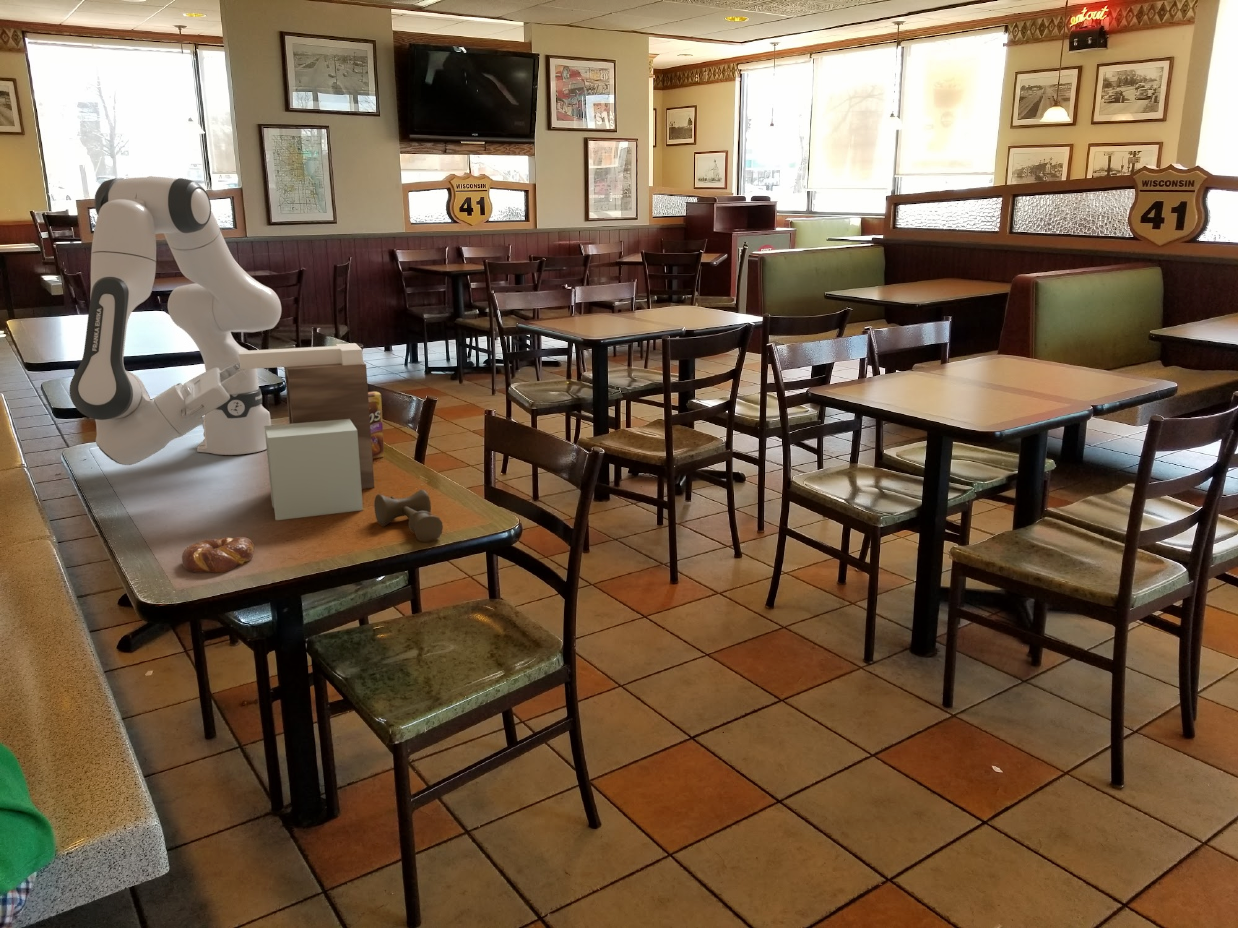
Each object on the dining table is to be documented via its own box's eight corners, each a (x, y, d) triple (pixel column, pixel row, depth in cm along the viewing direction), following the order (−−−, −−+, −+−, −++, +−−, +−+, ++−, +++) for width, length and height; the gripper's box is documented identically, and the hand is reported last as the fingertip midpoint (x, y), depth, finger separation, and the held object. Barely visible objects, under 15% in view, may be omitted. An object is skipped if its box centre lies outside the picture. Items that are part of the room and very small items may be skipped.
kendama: (404, 550, 164) (367, 515, 180) (456, 541, 169) (415, 508, 185) (403, 518, 163) (366, 485, 179) (455, 510, 168) (414, 479, 184)
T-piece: (239, 364, 189) (237, 349, 189) (356, 357, 198) (355, 343, 197) (241, 371, 181) (239, 356, 181) (363, 364, 190) (362, 349, 189)
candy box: (347, 463, 215) (342, 397, 211) (341, 458, 218) (336, 394, 214) (385, 457, 220) (381, 393, 215) (379, 453, 223) (374, 390, 219)
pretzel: (236, 545, 165) (234, 525, 164) (270, 560, 159) (268, 539, 158) (168, 564, 156) (166, 543, 156) (201, 581, 150) (199, 559, 149)
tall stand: (294, 482, 200) (283, 361, 193) (366, 474, 206) (358, 356, 199) (299, 495, 191) (287, 369, 184) (374, 487, 197) (366, 364, 190)
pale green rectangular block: (272, 504, 186) (264, 425, 181) (355, 495, 192) (349, 418, 188) (276, 520, 177) (267, 437, 173) (362, 509, 183) (357, 430, 179)
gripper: (170, 406, 173) (236, 364, 175) (172, 385, 191) (232, 347, 193) (192, 433, 175) (257, 392, 178) (193, 410, 194) (251, 373, 196)
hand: (244, 368), depth 186 cm, fingers open, 8 cm apart
